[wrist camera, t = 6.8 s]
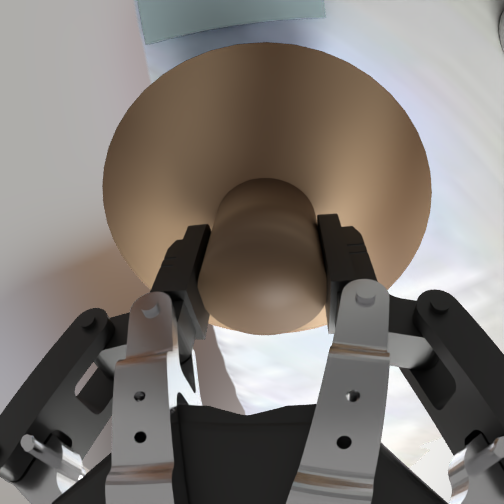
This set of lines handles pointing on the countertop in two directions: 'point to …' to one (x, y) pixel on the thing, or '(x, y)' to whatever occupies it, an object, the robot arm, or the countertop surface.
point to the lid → (266, 178)
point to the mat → (217, 15)
